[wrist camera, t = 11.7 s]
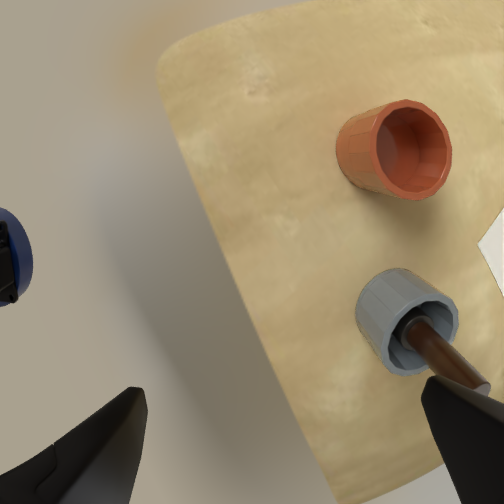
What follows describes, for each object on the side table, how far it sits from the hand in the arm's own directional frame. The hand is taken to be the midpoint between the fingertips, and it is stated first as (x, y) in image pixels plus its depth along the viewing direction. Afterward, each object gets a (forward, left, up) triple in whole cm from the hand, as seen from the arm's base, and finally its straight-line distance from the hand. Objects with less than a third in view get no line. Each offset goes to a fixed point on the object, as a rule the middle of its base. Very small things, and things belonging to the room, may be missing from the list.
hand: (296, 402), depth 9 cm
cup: (+10, -3, -13) cm, 17 cm away
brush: (+10, -3, -12) cm, 16 cm away
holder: (+7, +8, -13) cm, 17 cm away
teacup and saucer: (+32, +3, -13) cm, 35 cm away
